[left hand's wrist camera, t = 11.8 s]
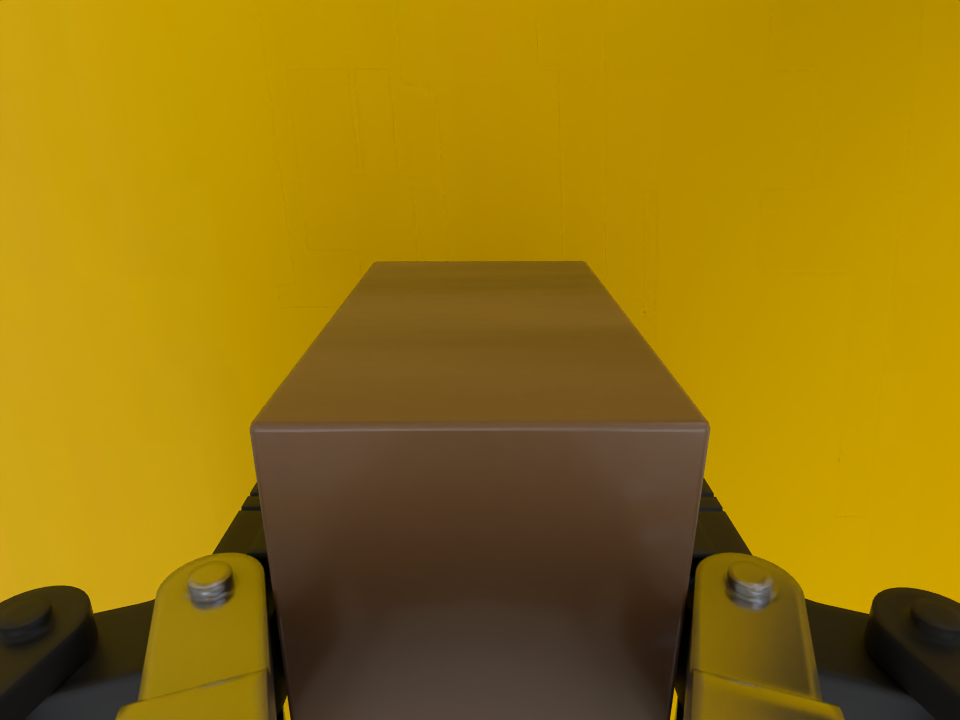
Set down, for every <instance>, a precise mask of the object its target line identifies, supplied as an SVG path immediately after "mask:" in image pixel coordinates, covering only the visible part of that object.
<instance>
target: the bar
mask: <svg viewBox="0 0 960 720" xmlns="http://www.w3.org/2000/svg"><path fill="white" fill-rule="evenodd" d="M709 433H710V426H709V423H708V421H707V420H706V419H705V417H704V416H703V415H702V413H701V412H700V411H699V409H698V408H697V407H696V405H695V404H694V403H693V402H692V400H691V399H690V398H689V396H688V395H687V394H686V392H685V391H684V390H683V389H682V387H681V386H680V385H679V383H678V382H677V381H676V379H675V378H674V377H673V376H672V374H671V373H670V372H669V370H668V369H667V368H666V366H665V365H664V364H663V363H662V361H661V360H660V359H659V357H658V356H657V355H656V353H655V352H654V351H653V349H652V348H651V347H650V346H649V344H648V343H647V342H646V340H645V339H644V338H643V336H642V335H641V334H640V333H639V331H638V330H637V329H636V327H635V326H634V325H633V323H632V322H631V321H630V320H629V318H628V317H627V316H626V314H625V313H624V312H623V310H622V309H621V308H620V307H619V305H618V304H617V303H616V301H615V300H614V299H613V297H612V296H611V295H610V294H609V292H608V291H607V290H606V288H605V287H604V286H603V284H602V283H601V282H600V280H599V279H598V278H597V277H596V275H595V274H594V273H593V271H592V270H591V269H590V267H589V266H588V265H587V264H586V263H585V262H583V261H526V262H375V263H373V265H372V266H371V267H370V269H369V270H368V271H367V272H366V274H365V275H364V276H363V278H362V279H361V280H360V282H359V283H358V284H357V286H356V287H355V288H354V289H353V291H352V292H351V293H350V295H349V296H348V297H347V299H346V300H345V301H344V303H343V304H342V305H341V306H340V308H339V309H338V310H337V312H336V313H335V314H334V316H333V317H332V318H331V320H330V321H329V322H328V323H327V325H326V326H325V327H324V329H323V330H322V331H321V333H320V334H319V335H318V337H317V338H316V339H315V340H314V342H313V343H312V344H311V346H310V347H309V348H308V350H307V351H306V352H305V354H304V355H303V356H302V357H301V359H300V360H299V361H298V363H297V364H296V365H295V367H294V368H293V369H292V371H291V372H290V373H289V374H288V376H287V377H286V378H285V380H284V381H283V382H282V384H281V385H280V386H279V388H278V389H277V390H276V391H275V393H274V394H273V395H272V397H271V398H270V399H269V401H268V402H267V403H266V405H265V406H264V407H263V408H262V410H261V411H260V412H259V414H258V415H257V416H256V418H255V419H254V420H253V422H252V423H251V426H250V434H251V441H252V449H253V456H254V463H255V470H256V477H257V484H258V491H259V498H260V505H261V512H262V519H263V526H264V533H265V540H266V548H267V555H268V562H269V569H270V576H271V583H272V590H273V597H274V604H275V611H276V618H277V625H278V632H279V639H280V647H281V654H282V661H283V668H284V675H285V682H286V689H287V696H288V703H289V710H290V717H291V720H670V715H671V708H672V701H673V693H674V686H675V679H676V672H677V664H678V657H679V650H680V643H681V635H682V628H683V621H684V614H685V607H686V599H687V592H688V585H689V578H690V570H691V563H692V556H693V549H694V541H695V534H696V527H697V520H698V512H699V505H700V498H701V491H702V484H703V476H704V469H705V462H706V455H707V447H708V440H709Z"/></svg>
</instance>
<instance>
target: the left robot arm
mask: <svg viewBox="0 0 960 720" xmlns="http://www.w3.org/2000/svg"><path fill="white" fill-rule="evenodd" d="M674 687H675V690H676V693H677V696H678V698H677V705H676V712H675V719H674V720H960V603H958V602H956V601H954V600H951V599H949V598H947V597H944V596H941V595H939V594H936V593H932V592H929V591H925V590H920V589H915V588H890V589H887V590H883V591H882V592H880V593H878V594H877V595H876V596H875V597H874V600H873V602H872V606H871V610H870V613H869V614H866V613H861V612H857V611H852V610H848V609H843V608H839V607H834V606H829V605H825V604H821V603H817V602H814V601H811V600H808V599H805V598H804V594H803V591H802V589H801V587H800V585H799V584H798V583H797V581H796V580H795V579H794V578H793V577H792V576H791V575H790V574H789V573H787V572H786V571H785V570H783V569H782V568H780V567H779V566H777V565H775V564H773V563H771V562H769V561H767V560H764V559H762V558H759V557H756V556H753V555H752V554H751V552H750V551H749V549H748V547H747V546H746V544H745V543H744V541H743V540H742V538H741V536H740V535H739V533H738V532H737V530H736V528H735V527H734V525H733V524H732V522H731V520H730V519H729V517H728V516H727V514H726V512H725V511H723V510H722V506H721V505H720V503H719V501H718V500H717V498H716V497H714V493H713V492H712V490H711V489H710V487H709V485H708V484H707V482H706V481H705V479H704V477H703V484H702V491H701V498H700V505H699V512H698V520H697V527H696V534H695V541H694V549H693V556H692V563H691V570H690V578H689V585H688V592H687V599H686V607H685V614H684V621H683V628H682V635H681V643H680V650H679V657H678V664H677V672H676V679H675V686H674ZM286 696H287V689H286V682H285V675H284V668H283V661H282V654H281V647H280V639H279V632H278V625H277V618H276V611H275V604H274V597H273V590H272V583H271V576H270V569H269V562H268V555H267V548H266V540H265V533H264V526H263V519H262V512H261V505H260V498H259V491H258V484H257V483H256V484H255V486H254V488H253V489H252V491H251V493H250V496H248V497H247V499H246V501H245V502H244V504H243V505H242V509H241V511H239V512H238V514H237V515H236V517H235V518H234V520H233V522H232V523H231V525H230V526H229V528H228V530H227V531H226V533H225V535H224V536H223V538H222V539H221V541H220V543H219V544H218V546H217V547H216V549H215V551H214V552H213V554H212V555H208V556H204V557H201V558H198V559H196V560H193V561H191V562H189V563H187V564H185V565H183V566H181V567H180V568H178V569H177V570H175V571H174V572H173V573H171V574H170V575H169V576H168V577H167V578H166V579H165V580H164V581H163V583H162V584H161V585H160V587H159V589H158V591H157V594H156V598H155V599H154V600H151V601H148V602H144V603H140V604H135V605H131V606H126V607H122V608H117V609H113V610H108V611H103V612H99V613H94V614H93V610H92V606H91V603H90V599H89V597H88V595H87V594H86V593H85V592H84V591H82V590H81V589H79V588H75V587H72V586H49V587H43V588H38V589H34V590H31V591H27V592H24V593H21V594H19V595H16V596H14V597H11V598H9V599H7V600H5V601H3V602H1V603H0V720H286V719H285V712H284V702H285V699H286Z"/></svg>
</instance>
